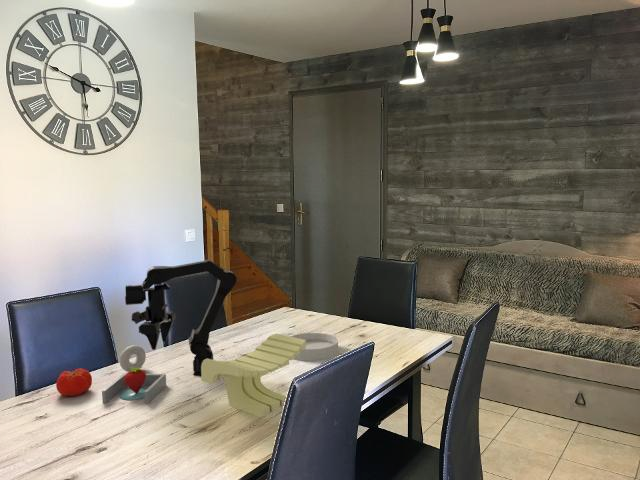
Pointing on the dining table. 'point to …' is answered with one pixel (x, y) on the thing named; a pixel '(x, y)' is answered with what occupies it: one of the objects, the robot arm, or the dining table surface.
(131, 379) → the strawberry
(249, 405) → the slatted curved stool
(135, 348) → the donut
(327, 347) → the dish
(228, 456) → the dining table surface
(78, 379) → the tomato
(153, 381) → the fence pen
